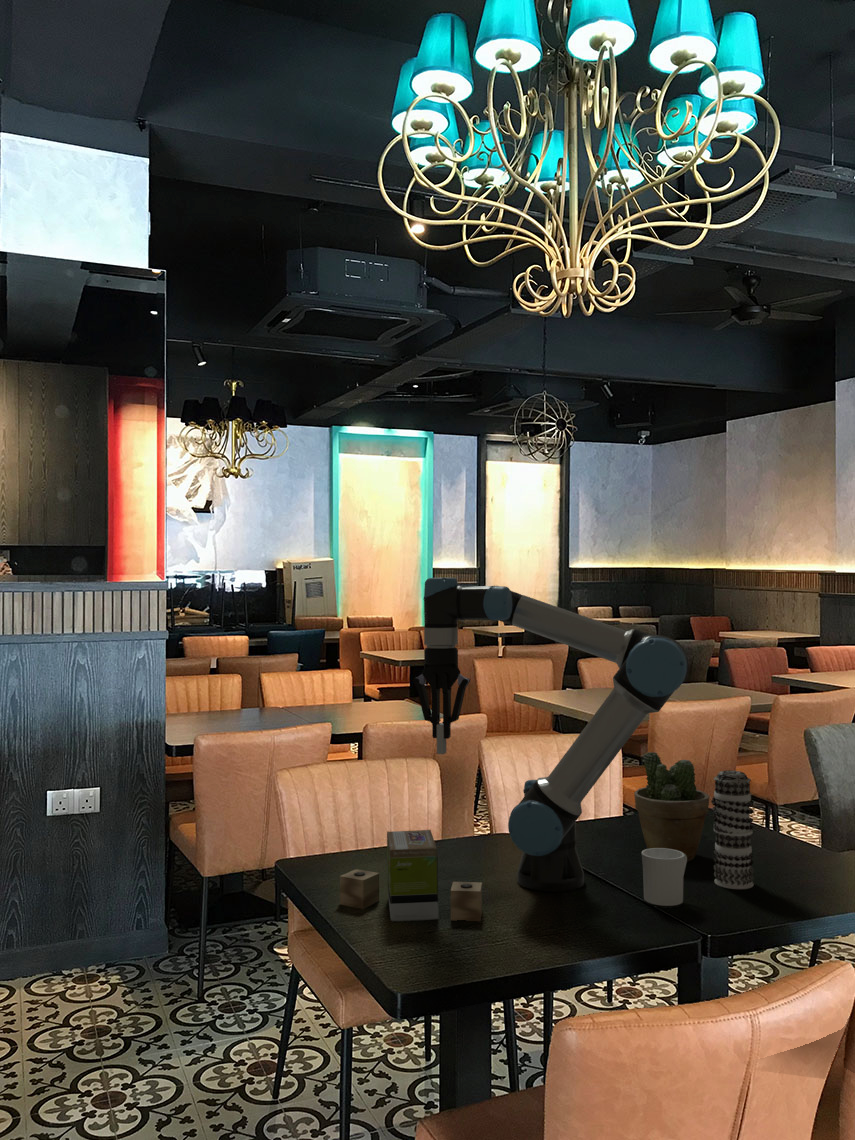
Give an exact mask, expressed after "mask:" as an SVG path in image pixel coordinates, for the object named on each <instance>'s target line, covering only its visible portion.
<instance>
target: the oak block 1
mask: <svg viewBox="0 0 855 1140" xmlns="http://www.w3.org/2000/svg"><path fill="white" fill-rule="evenodd" d="M378 902H380V872H374V871H369V870H363V869H358V868H356V869H353V870H351V871H349V872H346V873H344V874H341V875H339V905H342V906H347V907H350V908H351V907H352V908H358V909H361V910H364V909H366V908H368V907H371V906H372V905H374V904H377V903H378Z"/></svg>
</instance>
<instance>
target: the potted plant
mask: <svg viewBox="0 0 855 1140" xmlns="http://www.w3.org/2000/svg"><path fill="white" fill-rule="evenodd" d="M642 758H643V759H642V762H643V766H644V768H645V771H644V772H645V773H646V778H645V779H646V780H647V782H646V784H647V785H646V786H645V787H642V788H641V787H640V788H638V789H637V790H635V792H634V803H635V809H636V810H637V813H638V816H639V822H640V826H641V830H642V834H643V839H644V842H645V845H646V849H651V848H666V849H673V850H677V851H680V852H682V853H684V854H685V855H686V857H687V862H690V861H692V860H694V859H695V857H696V855H697V852H698V849H699V845H700V841H701V839H702V838H701V837H702V833H703V829H704V825H705V821H706V815H707V814H708V812H709V807H710V806H709V805H710V795H709V794H708V793H707V792H705V791H702V790H698V789H697V786H696V784H695V782H696V777H695V776H696V773H695V766H694V764H693V762H691V760H689V759H681V760H678V761H677V762H675V763H674V764H673V765H671V766H670V767H669V769H667V766H666V764H663V762H661V757H659V755H658V753H657V752H654V751H652V752H651V751H649V752H645V754H643V757H642Z"/></svg>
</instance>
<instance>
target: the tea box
mask: <svg viewBox="0 0 855 1140" xmlns="http://www.w3.org/2000/svg"><path fill="white" fill-rule="evenodd" d="M436 844H437V843H436V842H435V839H434V836H433V833H432V829H420V830H419V829H418V830H417V829H416V830H399V831H393V830H392V831H387V833H386V849H387V850H386V853H387V854H386V861H387V862H386V863H387V897H388V909H389V917H390V921H391V922H411V921H431V920H434V921H435V920H438V919H439V875H438V873H439V871H438V870H439V869H438V868H439V867H438V846H437V845H436Z"/></svg>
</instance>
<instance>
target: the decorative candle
mask: <svg viewBox="0 0 855 1140" xmlns="http://www.w3.org/2000/svg"><path fill="white" fill-rule="evenodd" d="M713 779H714V788H715V789H714V794H713V797H712V798H711V801H710V802H711V804H712V805H713V807H712V809H711V811H712V813H713V815H712V816H711V818H712V820H713V821H714V822H713V824H712V827H713V832H714V833H715V843H714V849H715V850H714V851H713V855H714V856H715V857H714V858H713V861H714V863H715V864H714V865H713V870H714V873H713V876H714V877H715V879H714V881H713V882H714V884H715V885H717V886H718V887H722V888H725V889H730V890H731V889H732V890H748V889H751V888H753V887H754V885H755V884H754V882H753V880H755V879H754V878H755V877H754V875H753V873H754V871H755V870H754V869H753V867H752V866H753V865H754V861H753V858H754V853H752V851H753V850H752V849H753V848H752V844H751V842H752V841H751V840H752V839H751V835H752V834H753V829H754V826H753V825H752V824H751V823H753V822H754V819H753V818H752V817H751V816H750V815H752V814H754V812H755V810H753V809H752V807H754V806H755V804H754V803H753V802H752V801H751V800H752V793H751V792H750V791H751V790H750V789H751V786H750V785H751V781H752V780H751V778H748V776H747V774H746V773H745V772H744V771H739V770H730V769H729V770H728V769H727V770H722V771H719V772H718V773H717V775H716V776H715V777H713Z"/></svg>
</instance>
